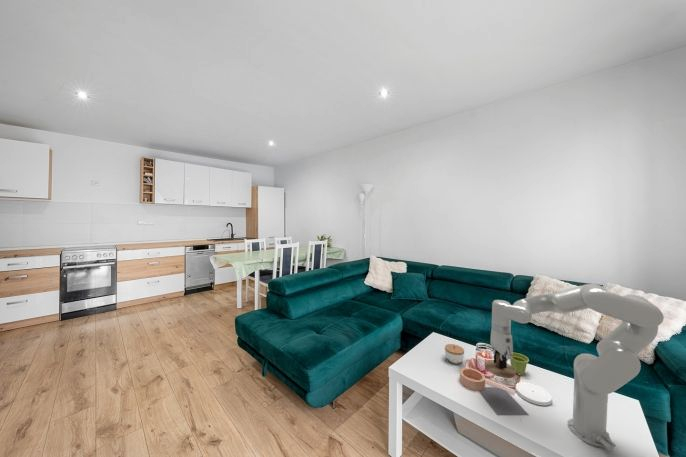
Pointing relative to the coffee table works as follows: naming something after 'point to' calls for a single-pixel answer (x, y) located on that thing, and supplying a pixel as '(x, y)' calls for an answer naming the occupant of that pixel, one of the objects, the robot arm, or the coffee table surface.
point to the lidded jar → (454, 353)
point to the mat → (502, 402)
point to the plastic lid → (533, 393)
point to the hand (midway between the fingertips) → (500, 365)
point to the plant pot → (519, 363)
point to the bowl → (472, 379)
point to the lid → (500, 372)
